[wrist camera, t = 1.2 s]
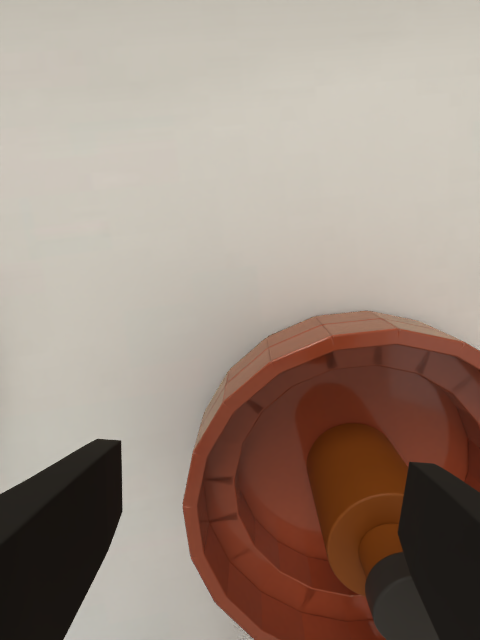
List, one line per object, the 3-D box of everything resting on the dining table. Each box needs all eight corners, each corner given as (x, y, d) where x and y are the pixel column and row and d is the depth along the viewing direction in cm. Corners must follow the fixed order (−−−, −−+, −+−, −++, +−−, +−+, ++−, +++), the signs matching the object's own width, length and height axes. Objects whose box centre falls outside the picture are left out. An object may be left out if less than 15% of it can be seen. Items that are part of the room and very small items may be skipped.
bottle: (382, 511, 20) (468, 688, 12) (297, 493, 20) (326, 659, 12) (406, 432, 19) (517, 566, 11) (318, 414, 19) (364, 535, 11)
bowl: (448, 608, 21) (499, 703, 17) (176, 553, 21) (156, 634, 17) (546, 345, 18) (638, 378, 14) (231, 280, 18) (224, 292, 14)
